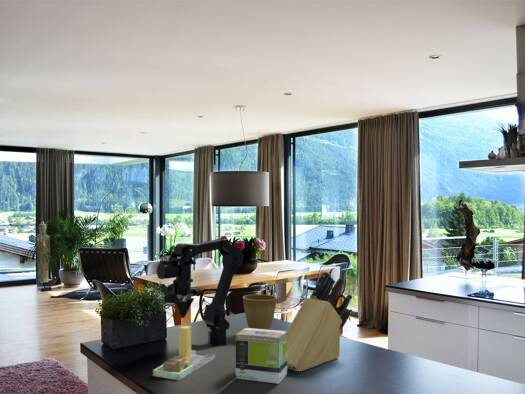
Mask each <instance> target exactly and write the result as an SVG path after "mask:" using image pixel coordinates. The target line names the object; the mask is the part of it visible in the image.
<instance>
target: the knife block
mask: <svg viewBox="0 0 525 394" xmlns="http://www.w3.org/2000/svg"><path fill="white" fill-rule="evenodd" d="M344 282H345V281H344V280H343V279H342V278H338V279H337V281H336V280H334V278H333V277H332V275H331V273H330V272H328V271H326V272H324V273H323V274H322V275H321V277H320V278H319V280H318V281H317V283H316V284H315V286H314V289H313V291H312V293H311V294H310V297H305V298H304V300H303V302H302V303H301V305H300V308H299V310H297V312H296V315H295V316H294V318H293V319H292V321H291V323H290V325H289V327H288V329H287V330H286V331H287V369H289V370H292V371H295V372H298V371H299V372H298V373H300V371H301V372H303V371H306V370H309V369H312V368H314V367H317V366H319V365H321V364H324V363H327V362H329V361H332V360H336V359H338V358H340V349H341V348H340V346H341V345H340V344H341V342H340V341H341V331H342V329H343V328H344V326H345V324H346V323H347V321H348V320H349V318H350V316H351V314H352V313H353V309H349V308H348V307H349V304H350V301H352V299H353V297H354V296H352V294H350V293H349V294H347V295H346V297H345V295H344V294H339V293H340V291H341V289H342V287H343V284H344ZM340 298H342V299H343V301H342V302H341V304H340V305H339V306H338V303H339V300H340ZM335 358H336V359H335Z"/></svg>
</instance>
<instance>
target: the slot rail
mask: <svg viewBox="0 0 525 394" xmlns="http://www.w3.org/2000/svg"><path fill="white" fill-rule="evenodd" d="M215 358H216V353H215V352H209V353H206V354H205V355H200V354H197V350H194V349H191V364H190V365H188V367H189V366H191V365H194V371H196V370H198V369H199V368H201V367H203V366H204V365H206V364H207V363H209V362H211V361H212V360H215ZM194 371H193V372H194Z"/></svg>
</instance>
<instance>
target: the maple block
mask: <svg viewBox="0 0 525 394" xmlns="http://www.w3.org/2000/svg"><path fill="white" fill-rule="evenodd" d="M170 359H172V360H179V361H181V368H180V372H181V371H182V370H184V369H186V368H187V357H181V356H179V355H175V356H172V358H170Z"/></svg>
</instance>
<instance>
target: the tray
mask: <svg viewBox="0 0 525 394" xmlns="http://www.w3.org/2000/svg"><path fill="white" fill-rule="evenodd" d="M193 372H194V365H191V366H189V367H187V368H186V369H184V370H182V371H181V372H179V373H175V372H168V371H163V364H161V365H159V366H157V367H156V368H154V369H152V377H157V378H163V379H168V380H169V379H170V380H177V381H179V380H182V379H183V378H185V377H186V376H188V375H189V374H191V373H193Z"/></svg>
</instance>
